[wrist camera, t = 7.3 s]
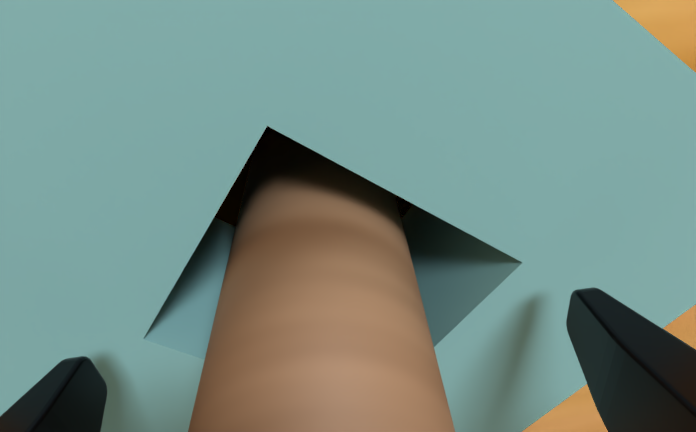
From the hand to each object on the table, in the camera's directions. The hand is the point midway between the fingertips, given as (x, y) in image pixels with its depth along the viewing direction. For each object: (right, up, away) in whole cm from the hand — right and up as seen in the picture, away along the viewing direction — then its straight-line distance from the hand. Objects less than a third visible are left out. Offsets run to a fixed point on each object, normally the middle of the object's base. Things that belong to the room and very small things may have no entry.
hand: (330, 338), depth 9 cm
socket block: (0, +3, +5) cm, 6 cm away
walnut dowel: (0, +3, +5) cm, 6 cm away
